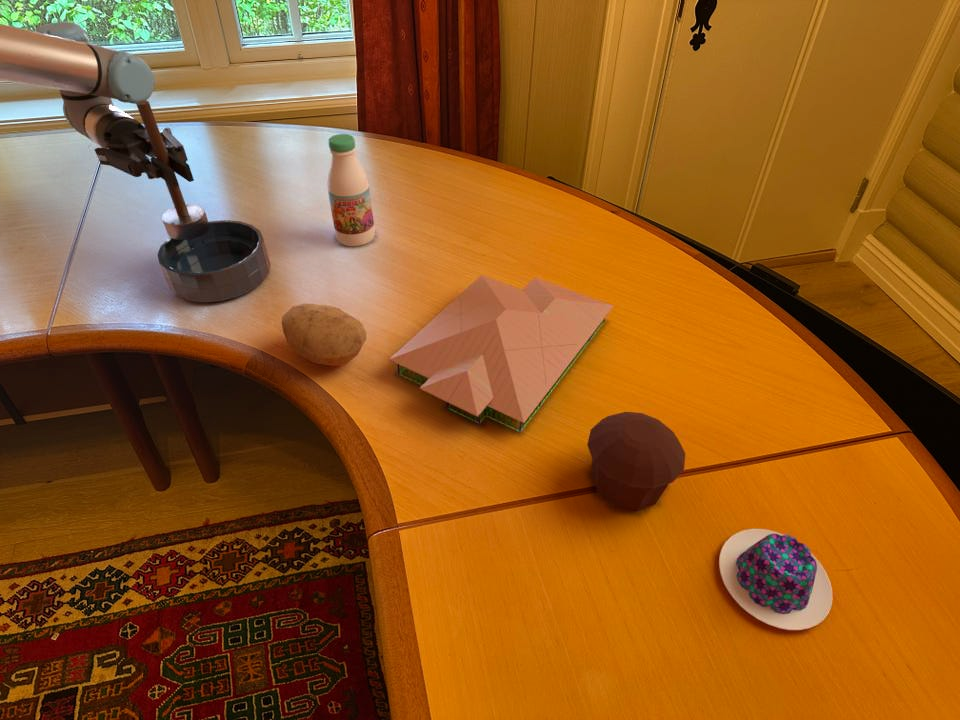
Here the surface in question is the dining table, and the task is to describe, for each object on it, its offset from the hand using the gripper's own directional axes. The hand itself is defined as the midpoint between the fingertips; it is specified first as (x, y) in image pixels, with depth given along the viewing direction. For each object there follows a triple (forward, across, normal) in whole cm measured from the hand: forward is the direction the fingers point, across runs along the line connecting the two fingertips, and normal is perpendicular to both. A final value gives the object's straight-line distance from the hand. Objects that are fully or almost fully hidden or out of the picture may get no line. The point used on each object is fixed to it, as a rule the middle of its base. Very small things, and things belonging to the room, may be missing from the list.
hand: (181, 175), depth 96 cm
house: (+50, -21, -20) cm, 58 cm away
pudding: (+98, -14, -20) cm, 101 cm away
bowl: (0, -1, -20) cm, 20 cm away
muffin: (+78, -14, -20) cm, 82 cm away
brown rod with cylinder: (-6, 0, -12) cm, 13 cm away
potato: (+31, -2, -20) cm, 37 cm away
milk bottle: (+7, -26, -20) cm, 34 cm away
